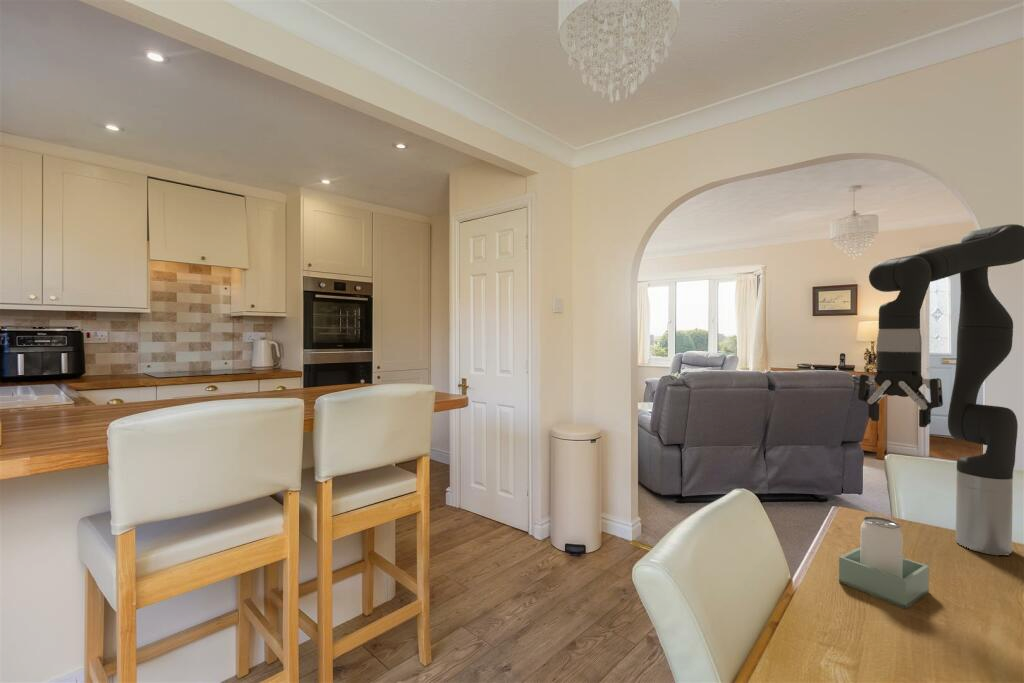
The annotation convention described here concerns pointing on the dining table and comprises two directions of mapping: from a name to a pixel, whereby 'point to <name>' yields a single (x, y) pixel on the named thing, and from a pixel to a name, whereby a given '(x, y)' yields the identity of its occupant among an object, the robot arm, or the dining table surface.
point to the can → (882, 545)
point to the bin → (885, 579)
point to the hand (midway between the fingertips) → (898, 423)
